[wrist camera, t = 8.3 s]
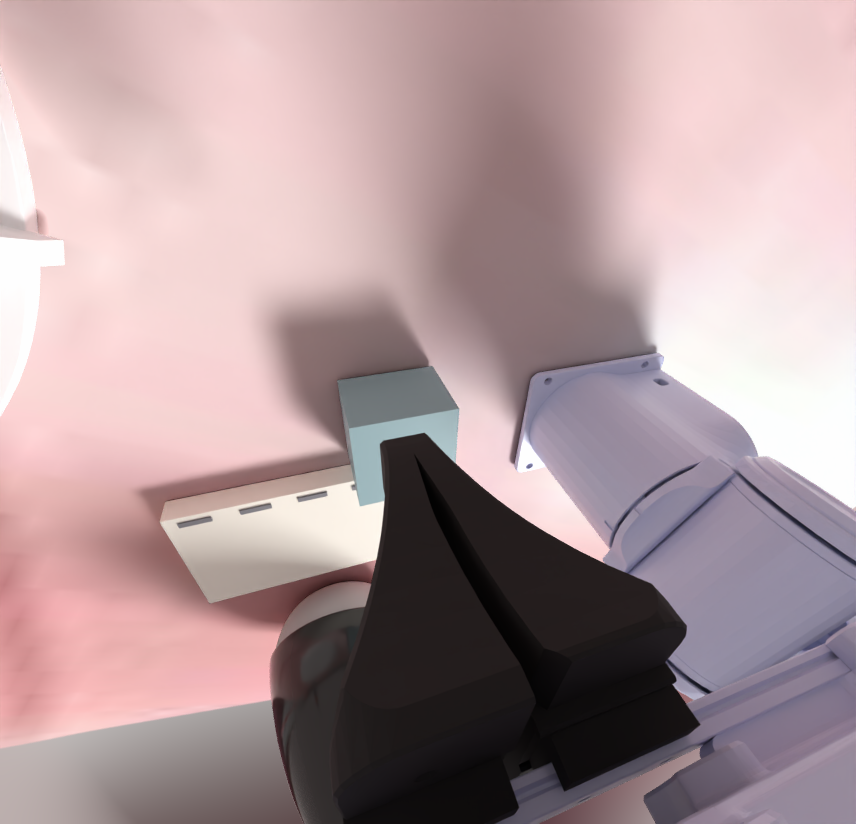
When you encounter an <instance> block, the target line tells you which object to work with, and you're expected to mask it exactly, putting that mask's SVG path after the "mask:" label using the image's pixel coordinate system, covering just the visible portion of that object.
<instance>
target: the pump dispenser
mask: <svg viewBox="0 0 856 824" xmlns="http://www.w3.org/2000/svg"><path fill="white" fill-rule="evenodd" d="M370 586H371V584H370V583H366V582H358V581H349V582H341V583H336V584H332V585H329V586H326V587H324V588H322V589H320V590H318V591H316V592H314V593H312V594H311V595H309V596H308V597H306V598H305V599H304V600H303V601H302V602H300V603H299V604H298V605H297V607H296V608H295V609H294V610H293V611H292V613H291V614H290V615H289V617H288V618H287V620H286V622H285V624H284V626H283V628H282V630H281V633H280V636H279V639H278V642H277V647H276V649H275V651H274V652H273V654H272V657H271V660H270V692H271V701H272V709H273V716H274V723H275V730H276V736H277V741H278V746H279V750H280V754H281V759H282V763H283V766H284V770H285V774H286V777H287V780H288V784H289V787H290V790H291V794H292V796H293V799H294V802H295V805H296V807H297V810H298V812H299V814H300V817H301V819H302V821H303V824H343V817H342V815H341V813H340V812H339V810H338V808H337V807H336V805H335V803H334V802H333V796H332V786H331V776H330V766H329V759H330V744H331V737H332V730H333V724H334V719H335V713H336V708H337V704H338V698H339V692H340V686H341V681H342V678H343V675H344V672H345V670H346V667H347V664H348V661H349V658H350V655H351V652H352V649H353V646H354V643H355V640H356V637H357V634H358V630H359V627H360V623H361V620H362V616H363V613H364V609H365V605H366V602H367V598H368V595H369V591H370Z"/></svg>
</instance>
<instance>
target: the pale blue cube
mask: <svg viewBox="0 0 856 824" xmlns="http://www.w3.org/2000/svg"><path fill="white" fill-rule="evenodd" d="M337 382H338V389H339V395H340V402H341V409H342V415H343V422H344V429H345V435H346V442H347V449H348V455H349V460H350V464H351V469H352V473H353V478H354V482H355V487H356V491H357V496H358V500H359V505H360V506H364V505H369V504H373V503H378V502H382V501H384V500H385V494H384V489H383V479H382V467H381V455H380V443H381V442H382V441H384V440H389V439H394V438H399V437H404V436H410V435H415V434H420V433H425V434H427V435H428V436H429V437H430V438H431V439H432V440H433V441H434V442H435V443H436V444H437V445H438V446H439V448H440V449H441V450H442V451H443V452H444V453H445V454H446V455H447V456H448V457H449V458H450V459H451V460H452V461H454V462H455V463H456V448H457V433H458V419H459V408H458V406H457V404H456V403H455V401H454V400H453V398H452V397H451V395H450V393H449V392H448V390H447V389H446V387H445V385H444V384H443V382H442V381H441V379H440V377H439V376H438V374H437V373H436V371H435V370H434V368H433V366H430V367H423V368H417V369H410V370H403V371H397V372H390V373H383V374H377V375H370V376H363V377H357V378H350V379H343V380H337Z"/></svg>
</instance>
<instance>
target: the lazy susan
mask: <svg viewBox="0 0 856 824" xmlns="http://www.w3.org/2000/svg"><path fill="white" fill-rule="evenodd" d="M54 265H64V243H63V240H61V239H57V238H53V237H50V236H46V235H42V234H39V231H38V221H37V212H36V205H35V199H34V192H33V186H32V180H31V176H30V171H29V166H28V161H27V156H26V152H25V148H24V144H23V140H22V136H21V132H20V128H19V124H18V120H17V117H16V113H15V110H14V107H13V103H12V100H11V97H10V93H9V90H8V87H7V83H6V80H5V77H4V74H3V71H2V68H1V66H0V416H1V414H2V413H3V411H4V410H5V408H6V406H7V404H8V403H9V401H10V399H11V397H12V395H13V393H14V391H15V389H16V387H17V385H18V383H19V380H20V378H21V375H22V373H23V370H24V367H25V365H26V362H27V358H28V355H29V352H30V348H31V344H32V340H33V336H34V331H35V326H36V319H37V313H38V304H39V292H40V266H54Z"/></svg>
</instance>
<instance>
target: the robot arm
mask: <svg viewBox="0 0 856 824" xmlns="http://www.w3.org/2000/svg"><path fill="white" fill-rule="evenodd" d="M663 361H664V357H663V356H662V355H661V354H659V353H654V354H648V355H642V356H636V357H630V358H624V359H618V360H612V361H606V362H600V363H594V364H588V365H582V366H576V367H570V368H564V369H558V370H552V371H545V372H539V373H536V374H535V375H534V376H533V377H532V378H531V381H530V386H529V391H528V397H527V402H526V407H525V413H524V418H523V423H522V428H521V434H520V439H519V444H518V449H517V455H516V460H515V465H514V467H515V469H516V470H517V472H525V471H529V470H534V469H538V468H542V467H547V469H548V470H549V471H550V472H551V474H552V475H553V476H554V478H555V479H556V480H557V482H558V483H559V484H560V485H561V487H562V488H563V489H564V491H565V492H566V493H567V494H568V496H569V497H570V498H571V500H572V501H573V502H574V504H575V505H576V506H577V507H578V509H579V510H580V511H581V513H582V514H583V515H584V516H585V518H586V519H587V520H588V522H589V523H590V524H591V526H592V527H593V528H594V529H595V531H596V532H597V533H598V535H599V536H600V537H601V538H602V540H603V541H604V542H605V544H606V545H607V546H608V548H609V549H610V551H609V552H608V553H607V554H606V555H605V557H604V558H603V561H604V563H603V562H601V561H598V560H596V559H594V558H592V557H590V556H588V555H586V554H584V553H582V552H580V551H578V550H576V549H574V548H573V547H571V546H569V545H567V544H566V543H564V542H562V541H560V540H558V539H557V538H555V537H553V536H551V535H550V534H548V533H546V532H544V531H543V530H541V529H539V528H538V527H536V526H535V525H533V524H532V523H530V522H528V521H527V520H525V519H524V518H522V517H521V516H520V515H518V514H517V513H515V512H514V511H512V510H511V509H510V508H508V507H507V506H505V505H504V504H503V503H501V502H500V501H499V500H497V499H496V498H495V497H494V496H492V495H491V494H490V493H489V492H487V491H486V490H485V489H484V488H483V487H481V486H480V485H479V484H478V483H477V482H475V481H474V480H473V479H472V478H471V477H470V476H469V475H468V474H467V473H465V472H464V471H463V470H462V469H461V468H460V467H459V466H458V465H457V464H456V463H455V462H454V461H452V460H451V459H450V458H449V457H448V456H447V455H446V454H445V453H444V452H443V451H442V450H441V449H440V448H439V446H438V445H437V444H436V443H435V442H434V441H433V440H432V439H431V438H430V437H429V436H428V435H427V434H425V433H420V434H415V435H410V436H404V437H399V438H394V439H389V440H384V441H382V442H381V443H380V455H381V467H382V479H383V489H384V494H385V500H384V511H383V521H382V529H381V536H380V543H379V548H378V554H377V559H376V564H375V569H374V573H373V578H372V582H371V586H370V591H369V595H368V598H367V602H366V605H365V609H364V613H363V616H362V620H361V623H360V627H359V630H358V634H357V637H356V640H355V643H354V646H353V649H352V652H351V655H350V658H349V661H348V664H347V667H346V670H345V672H344V675H343V678H342V681H341V686H340V692H339V698H338V704H337V708H336V713H335V719H334V724H333V730H332V737H331V744H330V759H329V766H330V776H331V786H332V796H333V802H334V803H335V805H336V807H337V808H338V810H339V812H340V813H341V815H342V817H343V824H539V823H540V822H543V821H545V820H547V819H549V818H551V817H553V816H555V815H558V814H560V813H562V812H564V811H566V810H568V809H570V808H572V807H574V806H577V805H579V804H581V803H583V802H585V801H587V800H589V799H591V798H594V797H595V796H598V795H600V794H602V793H604V792H606V791H608V790H610V789H613V788H615V787H617V786H619V785H621V784H623V783H625V782H627V781H629V780H632V779H634V778H636V777H638V776H640V775H642V774H644V773H646V772H648V771H651V770H653V769H655V768H657V767H659V766H661V765H663V764H665V763H667V762H670V761H671V760H674V759H676V758H678V757H680V756H682V755H684V754H686V753H688V752H691V751H693V750H695V749H697V748H699V747H701V746H702V747H701V748H700V757H701V759H700V760H698V761H697V762H695V763H693V764H691V765H689V766H687V767H686V768H684V769H682V770H680V771H678V772H677V773H675V774H674V775H673V776H672V777H671V778H670V779H669V780H667V781H666V782H664V783H663V784H662V785H660V786H658V787H657V788H655V789H654V790H652V791H650V792H649V793H647V794H646V795H644V803H645V804H646V806H647V808H648V810H649V812H650V814H651V815H652V817H653V819H654V821H655V823H656V824H856V511H854V510H853V509H851V508H850V507H848V506H847V505H845V504H844V503H842V502H841V501H839V500H838V499H836V498H835V497H833V496H832V495H830V494H829V493H827V492H826V491H824V490H823V489H821V488H820V487H818V486H817V485H815V484H814V483H812V482H811V481H809V480H807V479H806V478H804V477H803V476H801V475H800V474H798V473H796V472H795V471H793V470H791V469H790V468H788V467H786V466H785V465H783V464H781V463H780V462H778V461H776V460H774V459H772V458H770V457H758V454H757V450H756V448H755V445H754V443H753V441H752V439H751V438H750V436H749V434H748V433H747V432H746V430H745V429H744V428H743V427H742V425H741V424H740V423H739V422H737V421H736V420H735V419H734V418H733V417H731V416H730V415H728V414H727V413H725V412H724V411H722V410H721V409H719V408H718V407H716V406H715V405H713V404H712V403H710V402H709V401H707V400H706V399H704V398H703V397H701V396H700V395H698V394H697V393H695V392H694V391H692V390H691V389H689V388H688V387H686V386H685V385H683V384H682V383H680V382H679V381H677V380H676V379H674V378H673V377H671V376H670V375H668V374H667V373H665V372H664V371H662V370H660V369H661V366H662V364H663ZM547 378H548V380H547V381H545V380H546V379H547ZM677 690H678V691H679V692H681V693H683V694H685V695H687V696H688V697H690V698H691V699H693V700H694V701H691V702H689V703H687V704H686V703H685V701H684V700H683V699H682V697H681V696H680V694H679V693H678V691H677Z"/></svg>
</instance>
